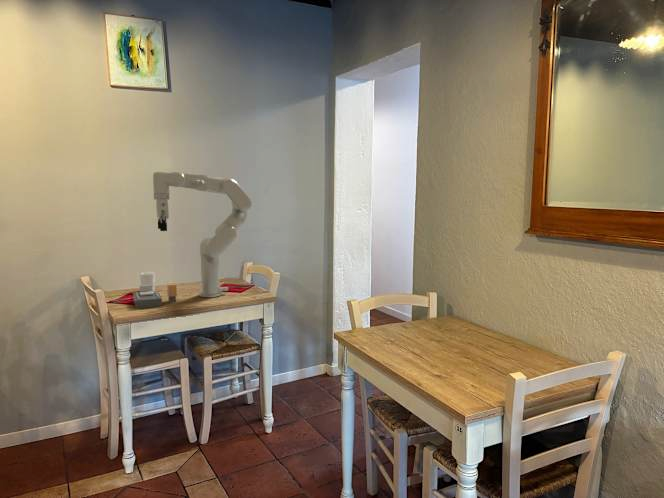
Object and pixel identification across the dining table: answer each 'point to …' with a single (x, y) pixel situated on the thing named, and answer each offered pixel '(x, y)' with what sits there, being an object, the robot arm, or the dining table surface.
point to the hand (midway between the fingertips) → (162, 229)
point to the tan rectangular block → (171, 292)
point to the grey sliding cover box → (147, 300)
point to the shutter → (146, 290)
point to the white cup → (148, 279)
